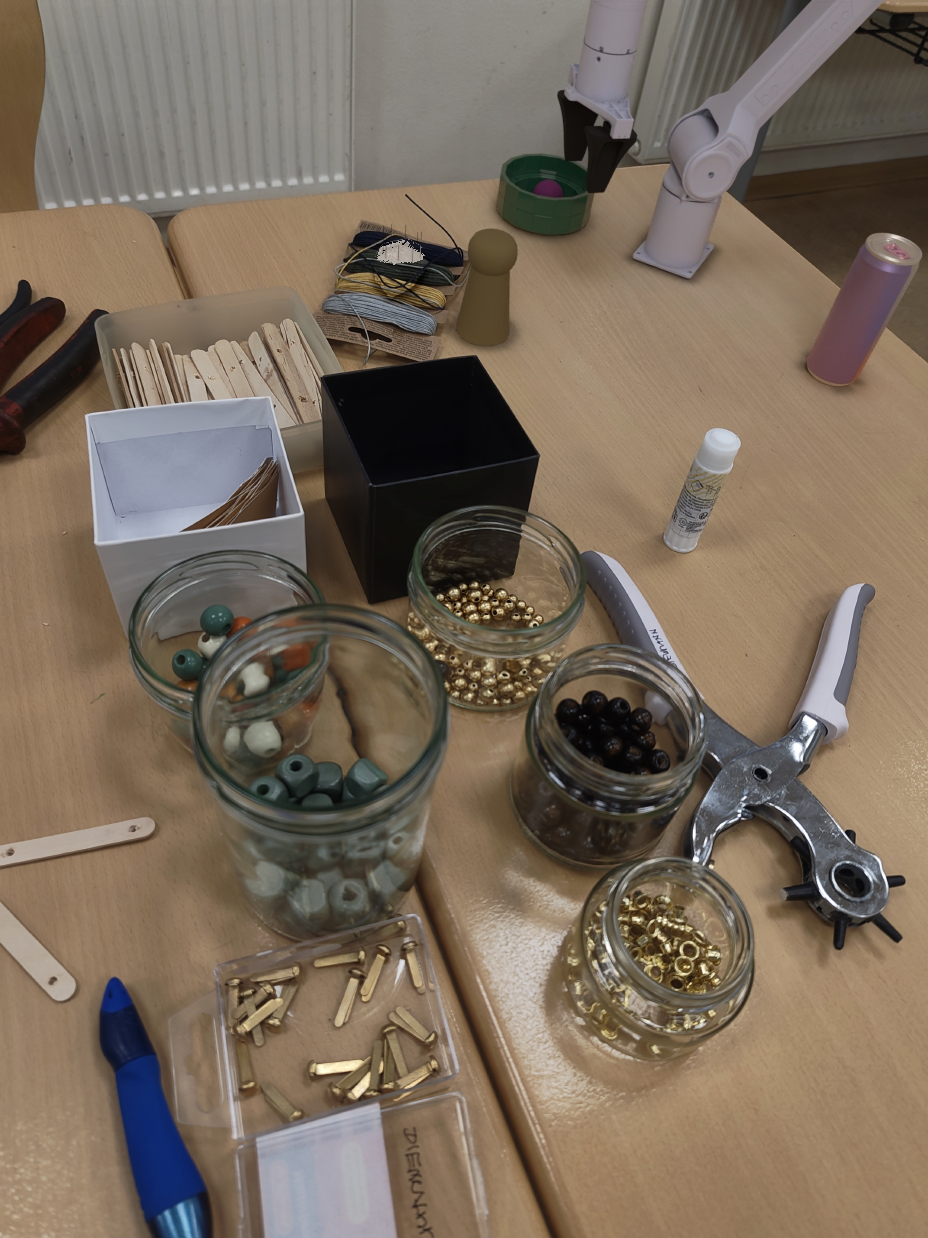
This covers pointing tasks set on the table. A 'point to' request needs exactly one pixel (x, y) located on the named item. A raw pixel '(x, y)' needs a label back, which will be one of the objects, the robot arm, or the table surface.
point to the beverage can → (863, 308)
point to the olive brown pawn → (487, 288)
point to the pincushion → (399, 251)
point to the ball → (548, 189)
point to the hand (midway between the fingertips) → (584, 175)
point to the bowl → (542, 210)
